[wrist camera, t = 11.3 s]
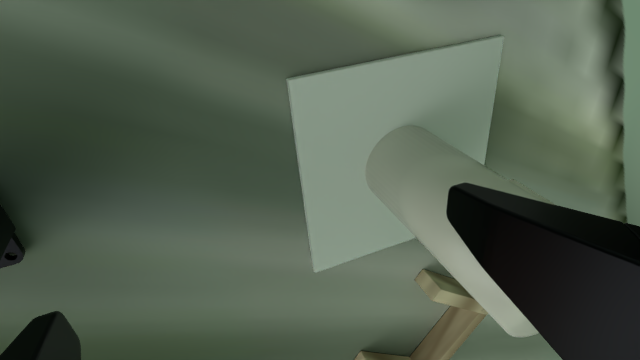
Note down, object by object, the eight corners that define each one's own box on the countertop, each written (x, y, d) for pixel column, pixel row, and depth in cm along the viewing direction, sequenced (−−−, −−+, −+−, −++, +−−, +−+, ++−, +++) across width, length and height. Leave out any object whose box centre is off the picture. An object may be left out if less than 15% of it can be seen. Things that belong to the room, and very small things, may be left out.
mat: (312, 269, 28) (314, 273, 27) (286, 78, 20) (288, 80, 20) (472, 214, 31) (476, 216, 31) (499, 35, 24) (504, 36, 24)
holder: (353, 360, 35) (366, 384, 33) (422, 269, 32) (440, 289, 30) (410, 366, 39) (425, 388, 37) (476, 286, 37) (495, 305, 35)
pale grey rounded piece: (361, 204, 26) (487, 351, 16) (370, 128, 23) (528, 250, 14) (453, 188, 28) (610, 307, 19) (471, 119, 26) (664, 215, 16)
